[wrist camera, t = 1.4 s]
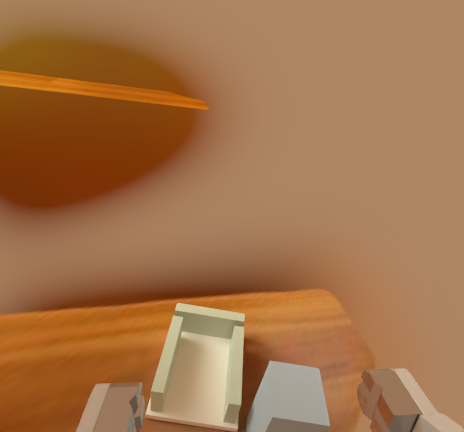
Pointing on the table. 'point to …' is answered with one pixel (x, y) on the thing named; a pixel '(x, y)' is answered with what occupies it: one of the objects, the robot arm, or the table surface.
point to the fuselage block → (289, 401)
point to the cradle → (200, 369)
